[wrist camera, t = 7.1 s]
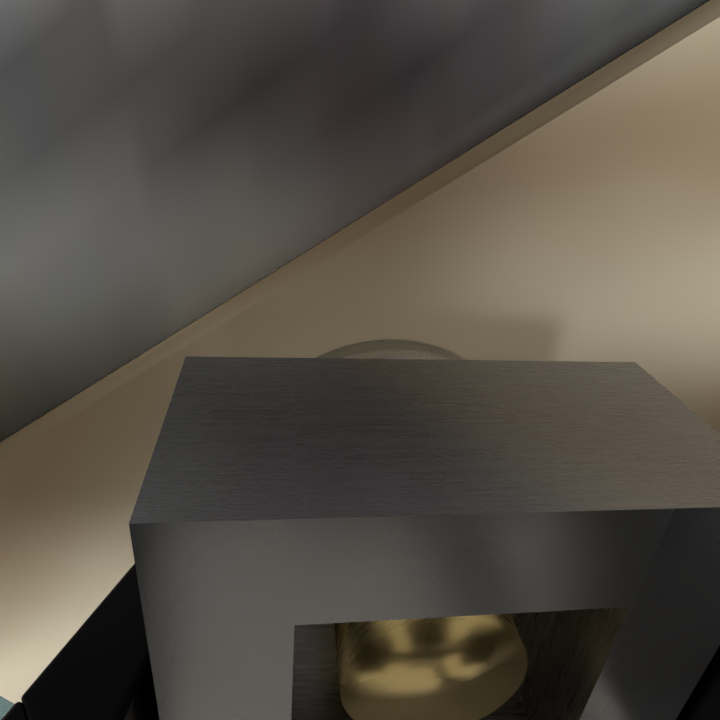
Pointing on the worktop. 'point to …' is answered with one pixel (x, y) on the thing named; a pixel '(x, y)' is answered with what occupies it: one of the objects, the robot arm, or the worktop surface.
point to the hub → (425, 634)
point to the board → (418, 307)
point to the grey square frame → (427, 529)
